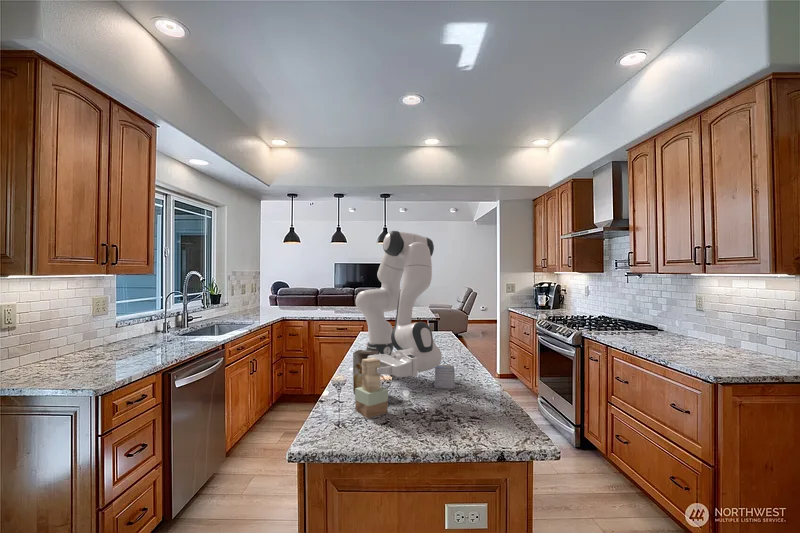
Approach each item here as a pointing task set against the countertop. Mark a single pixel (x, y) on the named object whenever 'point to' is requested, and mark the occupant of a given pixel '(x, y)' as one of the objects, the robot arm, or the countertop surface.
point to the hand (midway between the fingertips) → (369, 367)
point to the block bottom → (371, 409)
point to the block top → (371, 396)
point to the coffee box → (359, 366)
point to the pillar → (370, 374)
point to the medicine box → (445, 376)
